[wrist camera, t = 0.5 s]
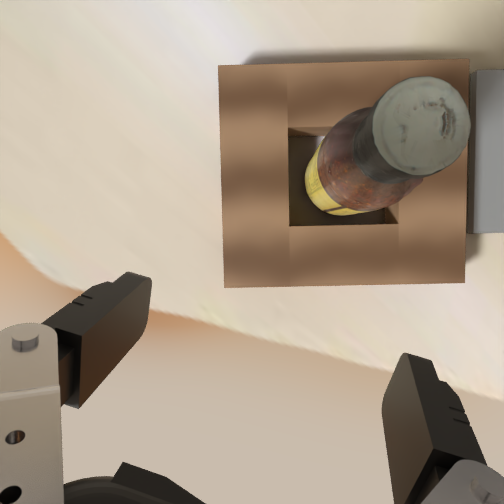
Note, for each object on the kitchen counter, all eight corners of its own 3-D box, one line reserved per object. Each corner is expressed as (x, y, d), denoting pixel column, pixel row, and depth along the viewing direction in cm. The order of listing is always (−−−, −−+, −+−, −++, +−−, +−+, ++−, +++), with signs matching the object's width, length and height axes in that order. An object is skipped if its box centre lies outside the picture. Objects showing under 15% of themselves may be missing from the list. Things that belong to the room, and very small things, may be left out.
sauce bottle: (383, 167, 35) (546, 98, 16) (349, 228, 36) (465, 236, 16) (320, 132, 35) (403, 17, 15) (286, 194, 36) (325, 160, 16)
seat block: (221, 81, 35) (218, 65, 31) (447, 75, 35) (469, 58, 31) (227, 281, 36) (224, 287, 33) (444, 277, 36) (464, 282, 33)
